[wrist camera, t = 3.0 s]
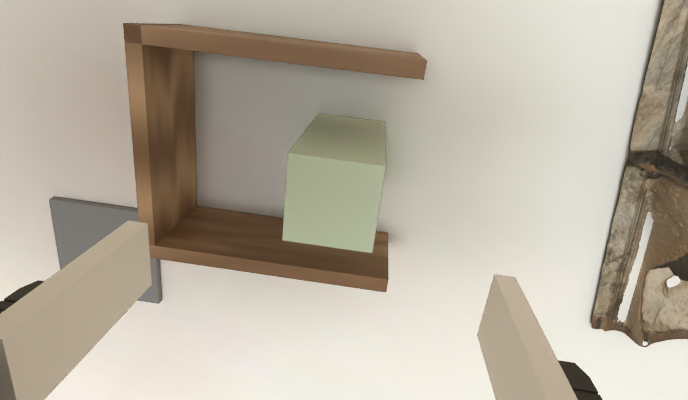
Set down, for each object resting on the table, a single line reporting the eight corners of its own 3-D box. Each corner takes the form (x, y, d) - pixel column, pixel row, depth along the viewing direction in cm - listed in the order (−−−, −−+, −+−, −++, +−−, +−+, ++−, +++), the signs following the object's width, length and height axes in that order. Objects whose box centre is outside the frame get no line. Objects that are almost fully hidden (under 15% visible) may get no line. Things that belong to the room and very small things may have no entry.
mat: (54, 196, 37) (49, 199, 36) (156, 211, 36) (153, 214, 36) (68, 285, 40) (63, 289, 39) (162, 299, 40) (158, 303, 39)
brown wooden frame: (179, 24, 30) (123, 23, 24) (418, 53, 30) (426, 60, 23) (185, 215, 36) (141, 256, 30) (386, 243, 35) (385, 292, 29)
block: (319, 113, 32) (288, 153, 22) (385, 121, 32) (385, 166, 22) (313, 176, 34) (282, 240, 24) (376, 184, 34) (372, 253, 23)
